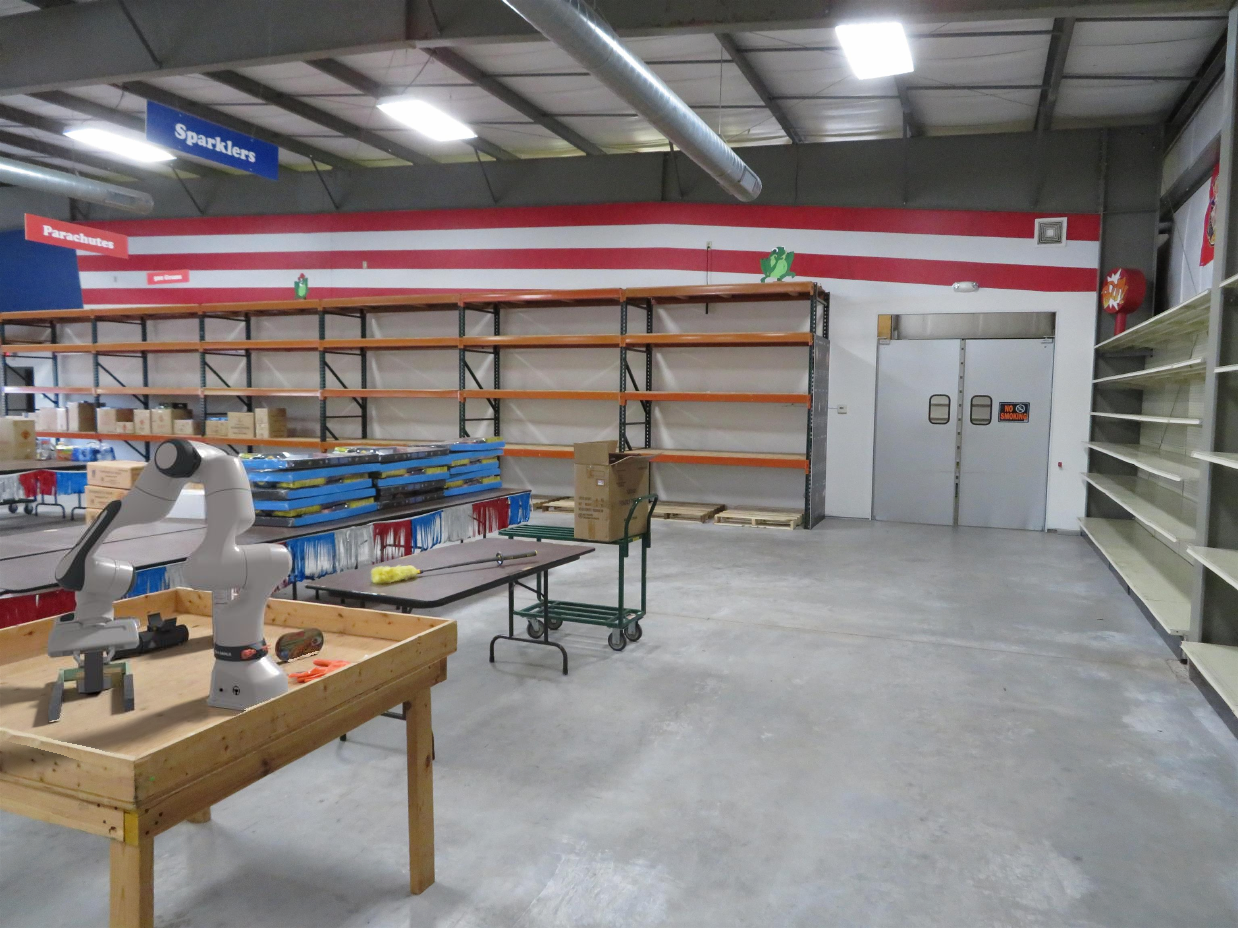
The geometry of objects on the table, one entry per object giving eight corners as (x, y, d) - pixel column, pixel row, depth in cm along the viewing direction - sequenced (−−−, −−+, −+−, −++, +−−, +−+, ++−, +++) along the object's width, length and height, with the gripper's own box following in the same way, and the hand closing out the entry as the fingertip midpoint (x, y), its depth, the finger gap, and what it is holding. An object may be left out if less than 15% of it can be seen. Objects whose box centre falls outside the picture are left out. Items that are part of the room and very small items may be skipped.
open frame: (130, 685, 209) (130, 674, 209) (56, 695, 200) (56, 683, 200) (129, 670, 220) (129, 660, 220) (59, 680, 211) (59, 669, 211)
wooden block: (94, 689, 205) (94, 674, 205) (76, 692, 203) (76, 677, 203) (95, 684, 209) (95, 670, 208) (77, 687, 207) (76, 672, 206)
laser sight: (101, 657, 232) (101, 623, 231) (178, 639, 251) (177, 608, 250) (119, 663, 226) (118, 629, 226) (195, 644, 246) (195, 613, 245)
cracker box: (214, 634, 257) (213, 570, 256) (234, 632, 259) (234, 569, 258) (211, 646, 244) (210, 579, 243) (232, 644, 247) (232, 578, 245)
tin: (279, 665, 228) (279, 636, 228) (273, 663, 230) (273, 634, 230) (324, 652, 241) (324, 625, 240) (318, 650, 243) (318, 624, 242)
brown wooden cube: (120, 686, 208) (119, 671, 208) (102, 688, 206) (101, 673, 206) (121, 681, 212) (121, 667, 211) (103, 683, 210) (103, 669, 210)
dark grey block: (110, 689, 202) (109, 649, 204) (77, 694, 199) (77, 653, 200) (110, 687, 207) (110, 649, 208) (78, 692, 203) (78, 652, 204)
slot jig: (134, 709, 192) (134, 697, 192) (48, 722, 183) (48, 710, 183) (132, 684, 209) (132, 673, 209) (54, 695, 200) (54, 684, 200)
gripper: (139, 621, 220) (140, 665, 212) (49, 630, 209) (47, 677, 201) (139, 609, 216) (141, 654, 208) (47, 618, 205) (45, 665, 197)
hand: (94, 665), depth 205 cm, fingers closed on dark grey block, 4 cm apart
